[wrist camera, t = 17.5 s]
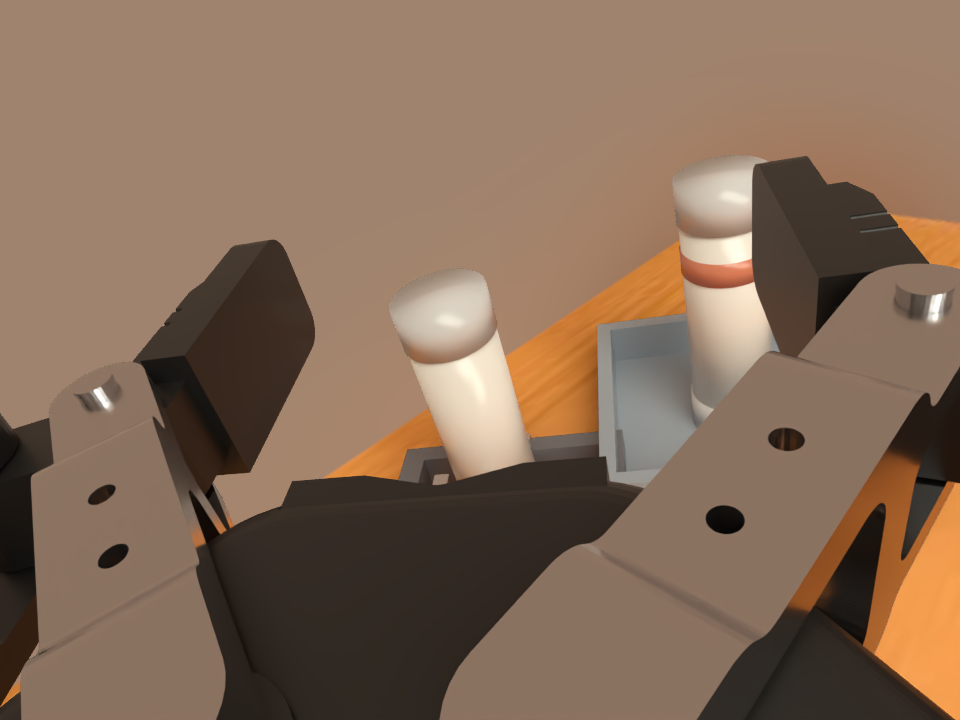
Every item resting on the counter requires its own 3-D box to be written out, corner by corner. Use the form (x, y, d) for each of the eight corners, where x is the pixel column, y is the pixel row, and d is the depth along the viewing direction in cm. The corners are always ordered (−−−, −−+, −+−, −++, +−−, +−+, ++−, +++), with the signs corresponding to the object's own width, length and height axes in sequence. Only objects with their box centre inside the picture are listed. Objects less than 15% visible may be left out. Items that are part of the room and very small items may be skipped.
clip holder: (331, 790, 28) (309, 759, 27) (417, 474, 42) (404, 443, 41) (646, 798, 25) (639, 763, 24) (626, 456, 40) (620, 422, 38)
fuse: (467, 553, 37) (377, 329, 29) (479, 491, 40) (402, 276, 32) (548, 549, 36) (477, 316, 28) (554, 486, 39) (492, 262, 31)
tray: (608, 528, 36) (599, 485, 34) (603, 362, 47) (597, 324, 45) (919, 508, 32) (926, 460, 31) (834, 335, 44) (836, 294, 42)
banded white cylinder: (698, 445, 38) (677, 202, 30) (688, 395, 41) (667, 165, 34) (782, 437, 37) (782, 184, 29) (765, 387, 41) (761, 148, 33)
